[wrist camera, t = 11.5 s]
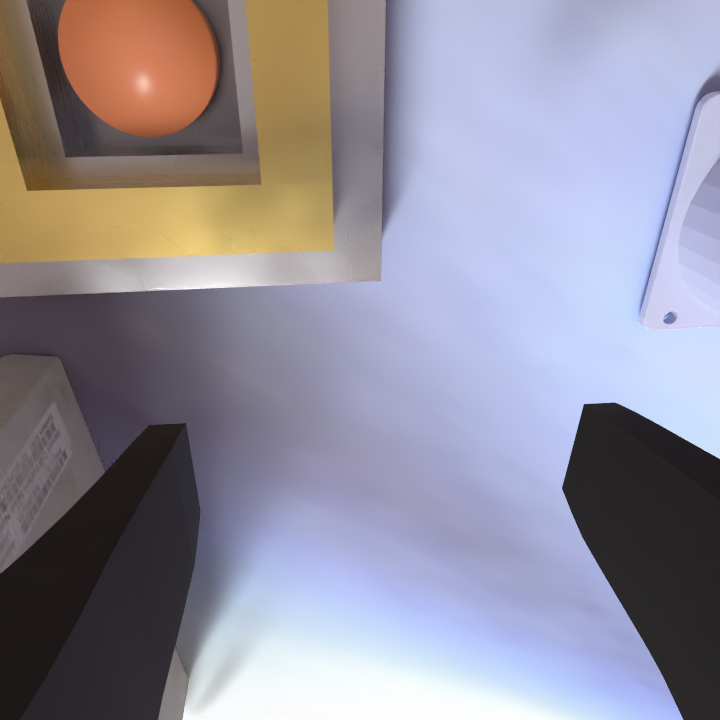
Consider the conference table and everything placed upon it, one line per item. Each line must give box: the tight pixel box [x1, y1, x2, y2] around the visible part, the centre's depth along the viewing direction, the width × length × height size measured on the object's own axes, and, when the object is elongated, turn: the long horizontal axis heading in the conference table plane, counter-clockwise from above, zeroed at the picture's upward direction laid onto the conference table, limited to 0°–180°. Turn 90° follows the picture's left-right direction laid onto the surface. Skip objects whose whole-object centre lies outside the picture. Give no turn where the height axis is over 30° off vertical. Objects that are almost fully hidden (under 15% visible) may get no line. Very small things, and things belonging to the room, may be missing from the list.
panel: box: [0, 0, 386, 297], centre depth 14 cm, size 12×12×4 cm
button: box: [58, 0, 220, 137], centre depth 14 cm, size 4×4×1 cm
